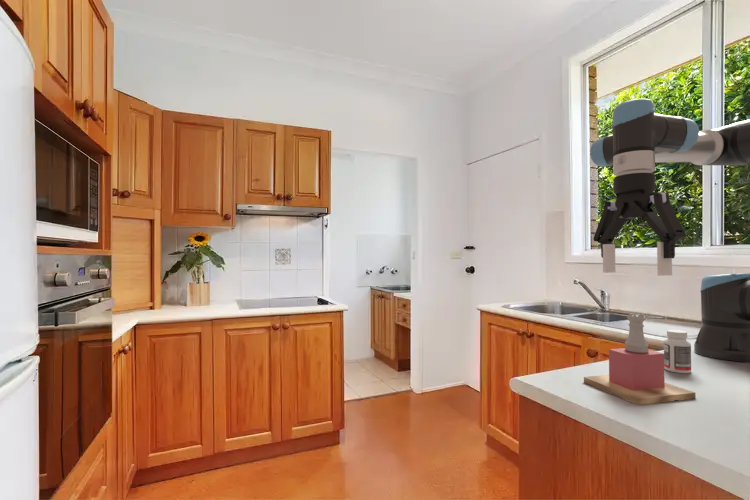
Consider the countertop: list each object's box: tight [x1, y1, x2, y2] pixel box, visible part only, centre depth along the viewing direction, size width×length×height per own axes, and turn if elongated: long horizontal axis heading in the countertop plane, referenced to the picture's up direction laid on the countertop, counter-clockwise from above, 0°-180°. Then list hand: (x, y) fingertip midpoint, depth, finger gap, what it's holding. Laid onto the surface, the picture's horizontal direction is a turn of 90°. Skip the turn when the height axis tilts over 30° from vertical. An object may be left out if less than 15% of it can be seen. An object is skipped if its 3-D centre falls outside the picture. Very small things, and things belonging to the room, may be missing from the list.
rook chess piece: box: [623, 312, 650, 354], centre depth 85 cm, size 4×4×8 cm
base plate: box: [583, 374, 697, 406], centre depth 85 cm, size 14×14×1 cm
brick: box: [608, 347, 666, 390], centre depth 85 cm, size 8×6×7 cm
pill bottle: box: [663, 329, 692, 374], centre depth 98 cm, size 5×5×10 cm
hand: (634, 274), depth 85 cm, fingers open, 13 cm apart
